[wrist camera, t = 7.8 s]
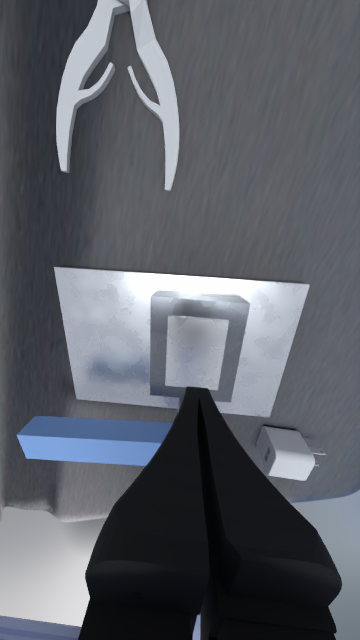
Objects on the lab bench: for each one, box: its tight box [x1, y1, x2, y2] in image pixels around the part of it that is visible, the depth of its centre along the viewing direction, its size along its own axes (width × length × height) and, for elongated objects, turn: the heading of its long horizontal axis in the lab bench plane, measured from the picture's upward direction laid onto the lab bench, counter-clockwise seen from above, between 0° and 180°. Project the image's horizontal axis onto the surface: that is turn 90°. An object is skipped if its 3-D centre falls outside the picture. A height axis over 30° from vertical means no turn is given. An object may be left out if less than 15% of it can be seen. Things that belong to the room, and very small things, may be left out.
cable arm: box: [17, 416, 173, 466], centre depth 17 cm, size 17×4×2 cm, turn 90°
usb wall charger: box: [256, 426, 326, 481], centre depth 22 cm, size 4×7×4 cm, turn 83°
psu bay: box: [54, 267, 310, 417], centre depth 18 cm, size 16×24×5 cm, turn 87°
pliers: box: [56, 0, 180, 192], centre depth 12 cm, size 10×2×15 cm
